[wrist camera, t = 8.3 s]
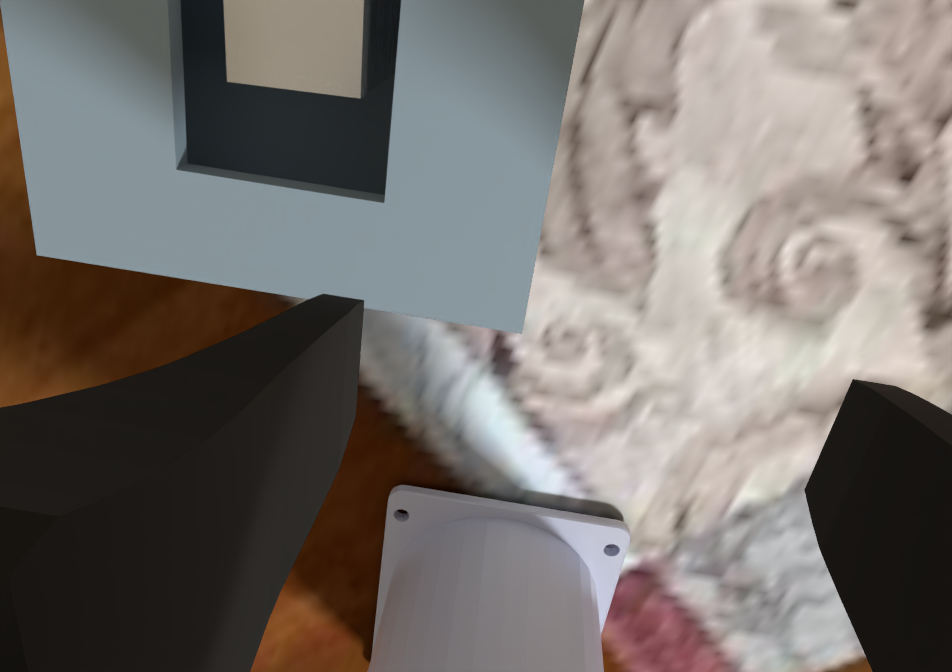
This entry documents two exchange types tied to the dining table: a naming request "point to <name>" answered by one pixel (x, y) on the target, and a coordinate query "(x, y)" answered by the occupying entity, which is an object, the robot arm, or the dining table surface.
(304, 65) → the white block
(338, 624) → the dining table surface
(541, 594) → the robot arm
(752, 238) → the dining table surface
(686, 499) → the dining table surface
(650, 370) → the dining table surface
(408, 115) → the grey tissue box
